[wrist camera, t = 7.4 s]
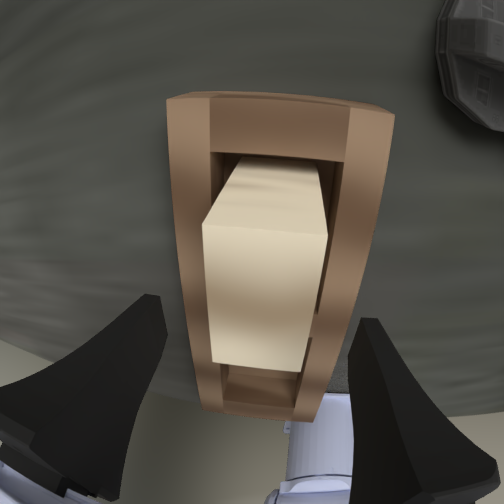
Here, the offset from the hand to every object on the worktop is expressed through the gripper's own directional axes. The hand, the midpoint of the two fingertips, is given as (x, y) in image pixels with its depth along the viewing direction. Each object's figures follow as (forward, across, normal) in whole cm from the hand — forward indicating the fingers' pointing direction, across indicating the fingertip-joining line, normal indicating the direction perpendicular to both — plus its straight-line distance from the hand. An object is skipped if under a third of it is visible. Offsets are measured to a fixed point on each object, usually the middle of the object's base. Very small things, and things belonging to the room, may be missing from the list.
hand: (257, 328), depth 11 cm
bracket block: (+9, 0, 0) cm, 9 cm away
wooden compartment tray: (+10, 0, +6) cm, 11 cm away
